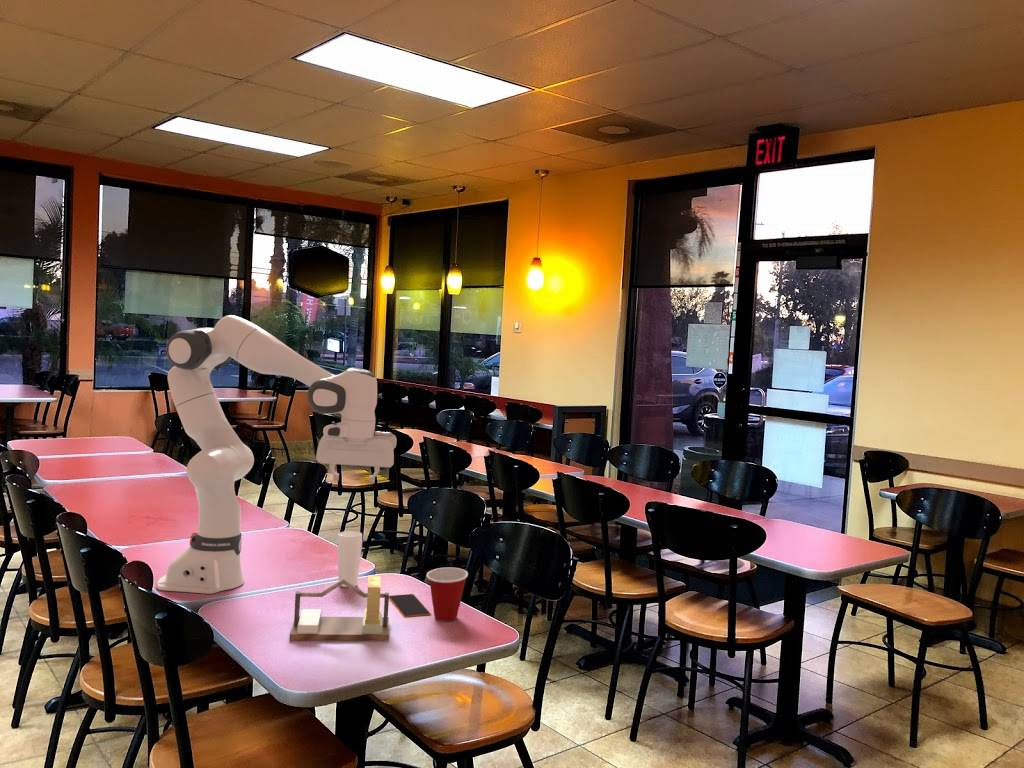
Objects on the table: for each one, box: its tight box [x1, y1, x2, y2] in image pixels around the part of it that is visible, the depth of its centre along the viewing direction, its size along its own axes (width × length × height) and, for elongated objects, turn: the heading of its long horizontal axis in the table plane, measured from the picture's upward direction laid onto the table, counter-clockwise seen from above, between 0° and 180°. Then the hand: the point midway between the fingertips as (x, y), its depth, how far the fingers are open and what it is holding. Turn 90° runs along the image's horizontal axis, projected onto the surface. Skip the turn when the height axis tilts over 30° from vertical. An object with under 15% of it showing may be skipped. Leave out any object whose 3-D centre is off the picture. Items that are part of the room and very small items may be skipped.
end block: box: [362, 609, 383, 634], centre depth 199 cm, size 5×11×2 cm, turn 9°
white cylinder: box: [337, 530, 363, 588], centre depth 233 cm, size 7×7×15 cm
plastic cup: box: [426, 566, 469, 622], centre depth 212 cm, size 11×11×12 cm
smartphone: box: [389, 593, 432, 619], centre depth 220 cm, size 8×17×1 cm, turn 23°
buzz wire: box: [288, 579, 390, 642], centre depth 198 cm, size 23×12×13 cm, turn 99°
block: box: [297, 608, 322, 634], centre depth 197 cm, size 5×11×2 cm, turn 9°
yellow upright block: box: [365, 575, 382, 624], centre depth 199 cm, size 4×9×9 cm, turn 9°
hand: (353, 481), depth 216 cm, fingers open, 8 cm apart
